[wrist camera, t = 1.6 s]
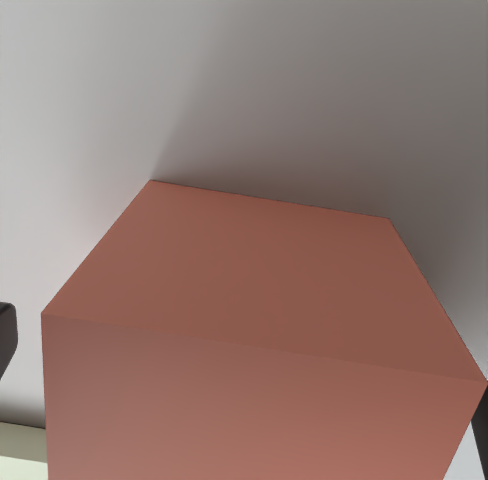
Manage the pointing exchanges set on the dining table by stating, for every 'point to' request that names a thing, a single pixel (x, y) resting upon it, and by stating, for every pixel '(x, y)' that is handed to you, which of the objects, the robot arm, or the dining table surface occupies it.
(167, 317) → the red brick
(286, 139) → the dining table surface
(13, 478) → the build board
